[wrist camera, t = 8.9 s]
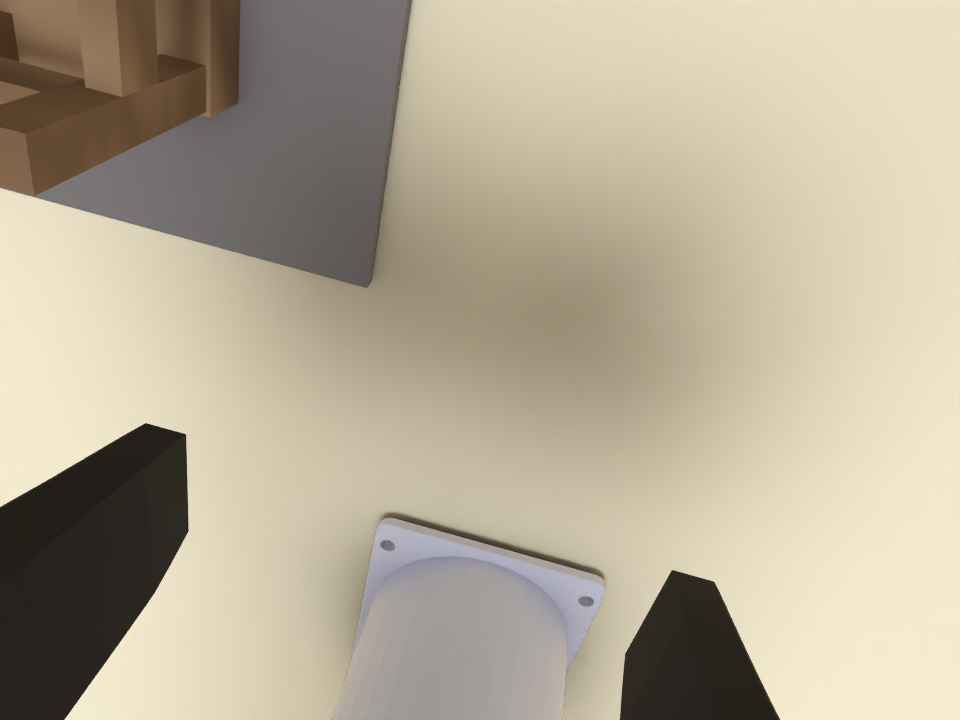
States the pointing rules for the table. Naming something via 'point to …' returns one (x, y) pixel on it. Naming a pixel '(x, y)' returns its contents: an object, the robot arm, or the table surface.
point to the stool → (106, 79)
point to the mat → (276, 144)
